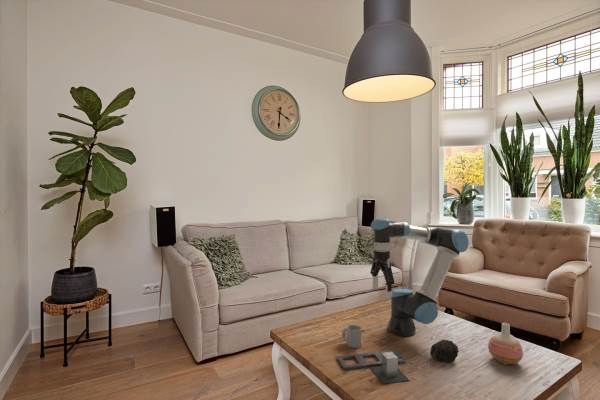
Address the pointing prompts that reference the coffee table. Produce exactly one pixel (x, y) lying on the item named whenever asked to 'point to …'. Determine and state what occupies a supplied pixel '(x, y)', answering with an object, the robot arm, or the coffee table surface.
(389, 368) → the grey rectangular block
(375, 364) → the rail
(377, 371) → the rubber mat
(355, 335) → the cup
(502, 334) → the vase
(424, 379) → the coffee table surface
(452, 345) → the rock
